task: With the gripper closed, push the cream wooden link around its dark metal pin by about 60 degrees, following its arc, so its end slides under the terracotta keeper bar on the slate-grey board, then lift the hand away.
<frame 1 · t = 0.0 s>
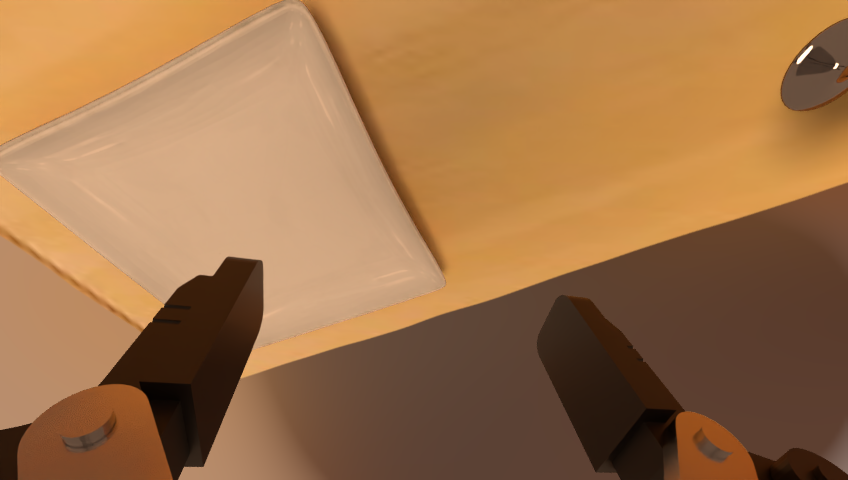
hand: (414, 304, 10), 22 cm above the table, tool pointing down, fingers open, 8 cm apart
wine glass: (828, 66, 29), on the table
square plate: (266, 212, 34), on the table
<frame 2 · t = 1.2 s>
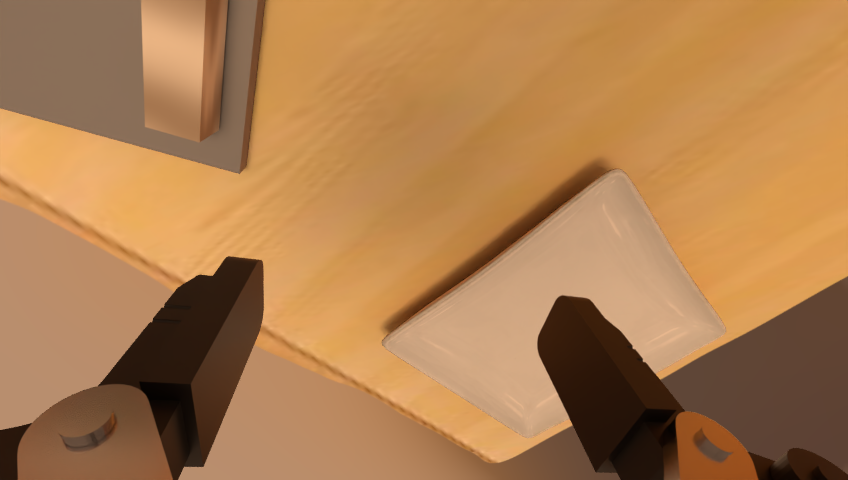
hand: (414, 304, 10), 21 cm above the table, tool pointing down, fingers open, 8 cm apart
square plate: (548, 315, 40), on the table
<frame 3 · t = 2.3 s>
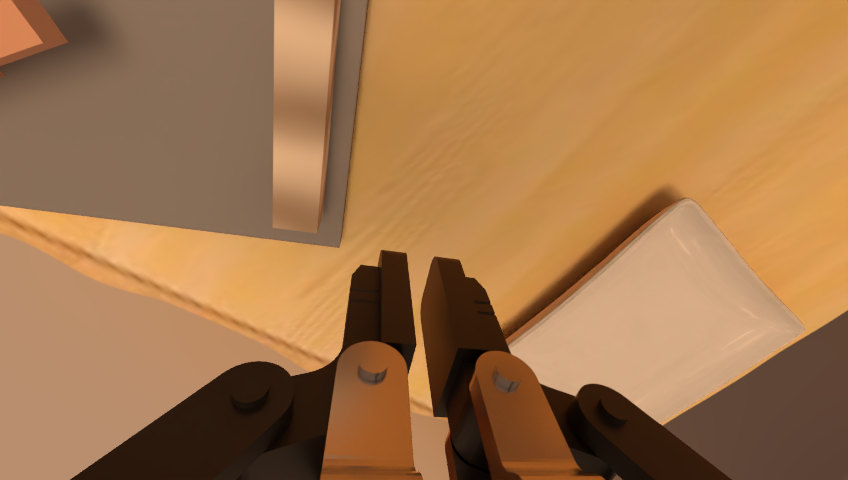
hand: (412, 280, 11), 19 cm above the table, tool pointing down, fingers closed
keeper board: (172, 56, 23), on the table
arm link: (304, 85, 21), point 4 cm above the table, hinge at 0.0°
square plate: (621, 331, 42), on the table
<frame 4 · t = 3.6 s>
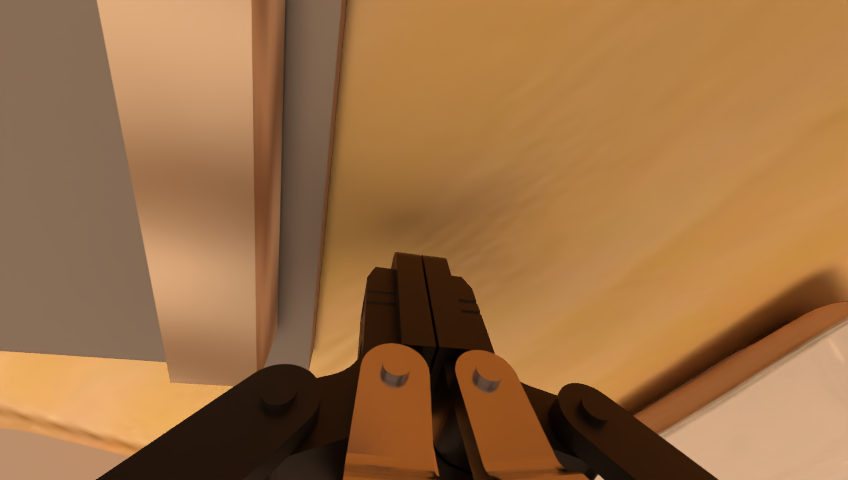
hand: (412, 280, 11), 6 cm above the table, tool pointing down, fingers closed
arm link: (206, 125, 10), point 4 cm above the table, hinge at 0.0°
square plate: (708, 440, 30), on the table
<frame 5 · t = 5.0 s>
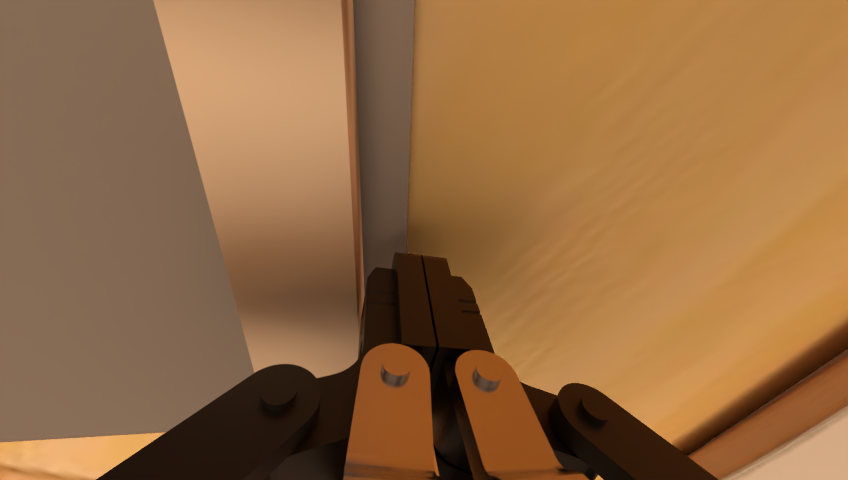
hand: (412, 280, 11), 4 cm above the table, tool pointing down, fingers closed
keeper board: (27, 162, 11), on the table
arm link: (293, 198, 9), point 4 cm above the table, hinge at 0.0°, touching gripper
square plate: (836, 430, 27), on the table
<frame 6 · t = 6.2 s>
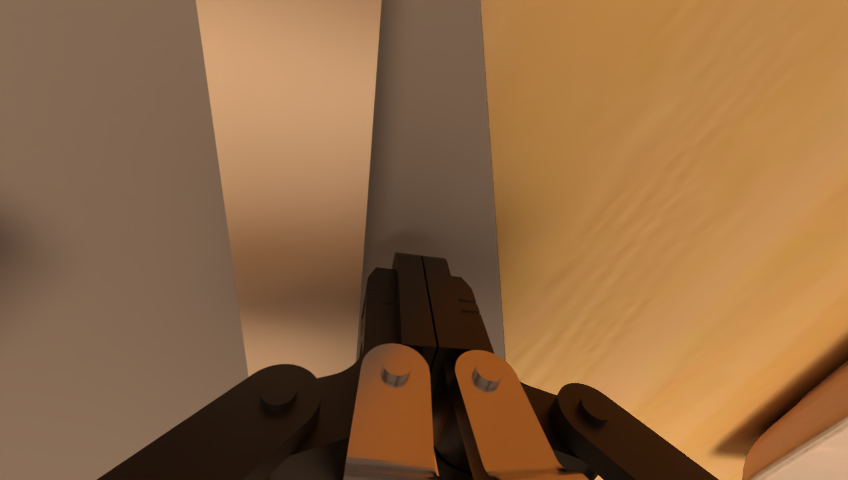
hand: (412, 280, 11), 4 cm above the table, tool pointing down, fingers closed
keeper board: (141, 213, 12), on the table
arm link: (305, 194, 9), point 4 cm above the table, hinge at -17.7°, touching gripper
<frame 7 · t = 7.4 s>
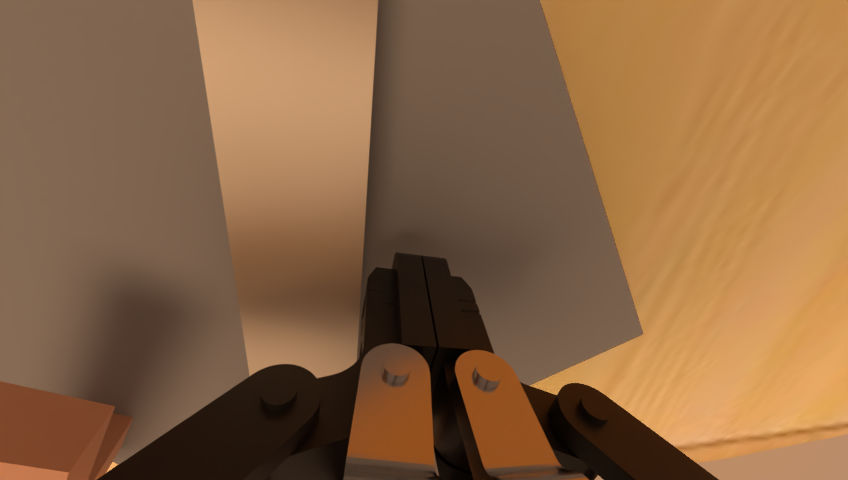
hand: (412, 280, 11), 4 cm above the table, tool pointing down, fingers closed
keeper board: (260, 255, 14), on the table
arm link: (304, 194, 9), point 4 cm above the table, hinge at -37.0°, touching gripper
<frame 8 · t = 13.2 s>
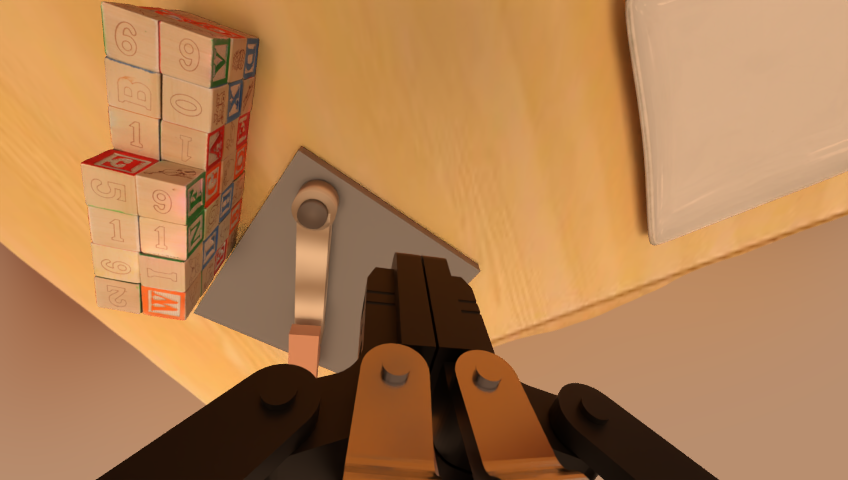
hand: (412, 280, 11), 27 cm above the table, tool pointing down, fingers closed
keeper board: (340, 284, 43), on the table
arm link: (312, 271, 37), point 4 cm above the table, hinge at -61.9°
square plate: (750, 78, 36), on the table
stack of blocks: (213, 146, 34), on the table
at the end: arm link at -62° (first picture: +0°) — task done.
